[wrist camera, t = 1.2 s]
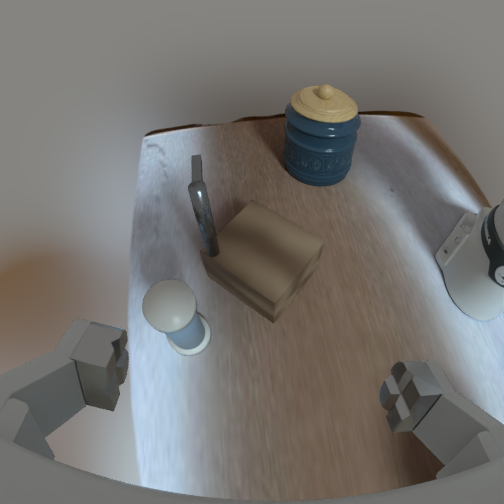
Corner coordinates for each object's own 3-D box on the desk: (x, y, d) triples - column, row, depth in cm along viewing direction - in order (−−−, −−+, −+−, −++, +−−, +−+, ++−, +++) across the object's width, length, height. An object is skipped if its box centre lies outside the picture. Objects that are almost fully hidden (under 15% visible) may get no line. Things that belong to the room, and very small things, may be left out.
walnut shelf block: (254, 228, 52) (252, 199, 46) (317, 267, 48) (324, 241, 42) (208, 276, 48) (200, 251, 42) (273, 323, 43) (275, 303, 37)
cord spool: (188, 307, 45) (168, 269, 36) (219, 332, 43) (206, 299, 34) (160, 337, 43) (131, 307, 33) (191, 364, 41) (168, 341, 31)
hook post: (217, 220, 44) (204, 153, 34) (220, 256, 41) (205, 191, 31) (204, 221, 44) (188, 156, 34) (206, 257, 41) (187, 194, 31)
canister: (337, 197, 55) (356, 115, 40) (271, 173, 59) (272, 92, 44) (356, 156, 61) (373, 82, 46) (298, 136, 65) (302, 63, 50)
